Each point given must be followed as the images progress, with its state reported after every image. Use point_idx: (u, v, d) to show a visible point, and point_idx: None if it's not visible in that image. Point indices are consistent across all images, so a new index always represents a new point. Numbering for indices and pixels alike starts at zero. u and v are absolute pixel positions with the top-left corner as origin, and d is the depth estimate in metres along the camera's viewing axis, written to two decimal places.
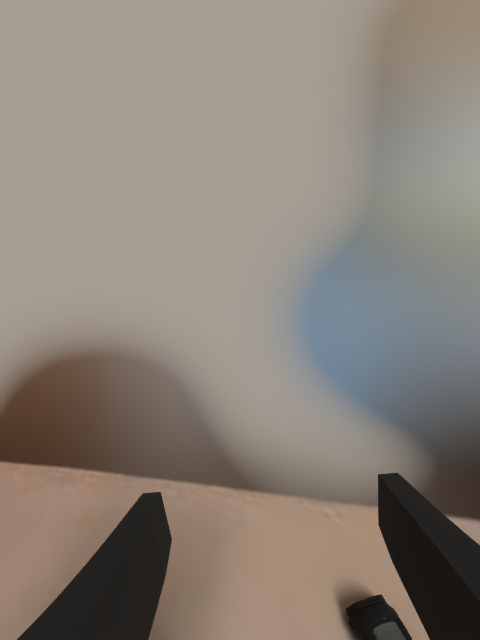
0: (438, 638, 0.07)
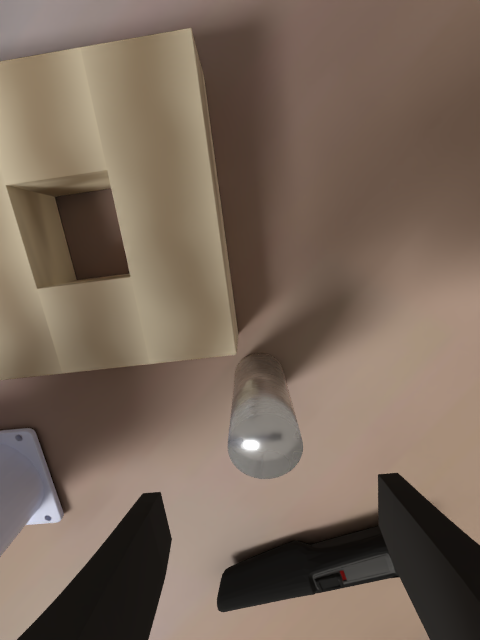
0: (438, 638, 0.07)
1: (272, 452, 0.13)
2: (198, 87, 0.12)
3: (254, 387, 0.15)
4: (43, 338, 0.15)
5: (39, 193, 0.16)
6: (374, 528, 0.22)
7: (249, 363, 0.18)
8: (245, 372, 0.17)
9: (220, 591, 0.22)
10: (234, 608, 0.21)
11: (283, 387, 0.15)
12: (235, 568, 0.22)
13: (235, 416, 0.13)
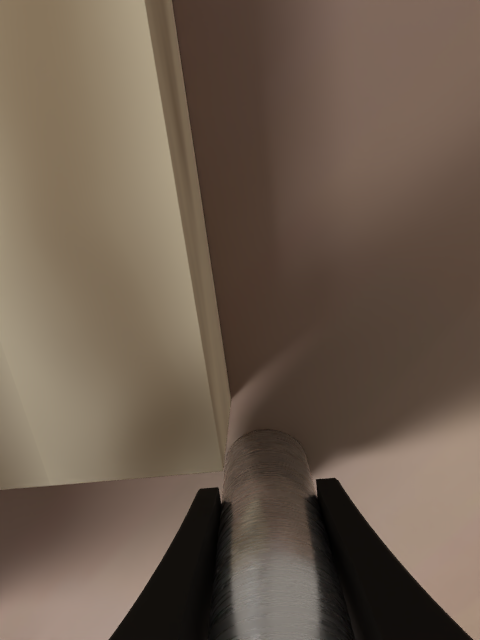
0: None
1: None
2: None
3: (260, 552, 0.07)
4: None
5: None
6: None
7: (249, 456, 0.10)
8: (243, 484, 0.09)
9: None
10: None
11: (318, 535, 0.08)
12: None
13: None
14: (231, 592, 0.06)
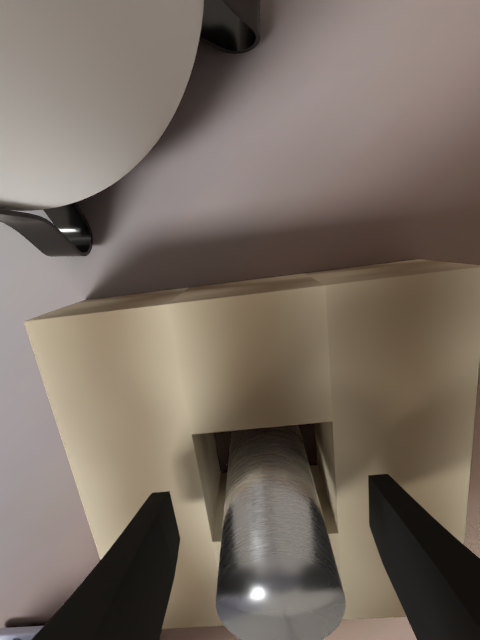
0: (425, 639, 0.07)
1: (295, 611, 0.07)
2: None
3: (252, 478, 0.09)
4: (211, 591, 0.12)
5: None
6: None
7: None
8: (241, 440, 0.11)
9: None
10: None
11: (298, 465, 0.10)
12: None
13: (224, 546, 0.08)
14: (233, 506, 0.09)
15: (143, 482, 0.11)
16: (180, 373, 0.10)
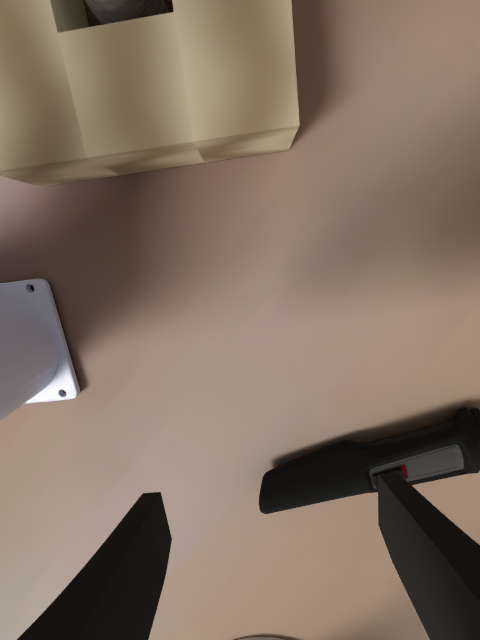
0: (438, 638, 0.07)
1: None
2: None
3: None
4: (64, 106, 0.13)
5: None
6: (436, 425, 0.19)
7: None
8: None
9: (262, 491, 0.19)
10: (278, 508, 0.19)
11: None
12: (278, 469, 0.20)
13: None
14: None
15: None
16: None
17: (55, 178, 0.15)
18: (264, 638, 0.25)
